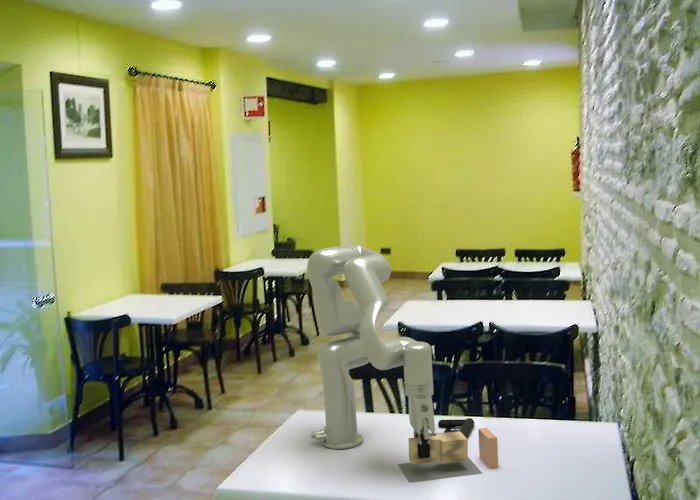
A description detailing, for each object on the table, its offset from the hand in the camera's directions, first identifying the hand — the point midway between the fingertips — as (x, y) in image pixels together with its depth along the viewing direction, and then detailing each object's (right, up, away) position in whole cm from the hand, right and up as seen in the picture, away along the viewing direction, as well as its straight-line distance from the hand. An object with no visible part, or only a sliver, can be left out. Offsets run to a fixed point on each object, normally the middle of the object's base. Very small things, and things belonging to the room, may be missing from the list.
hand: (422, 454), depth 200 cm
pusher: (+5, -1, +1) cm, 5 cm away
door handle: (+10, -2, +28) cm, 30 cm away
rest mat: (+5, -5, +1) cm, 7 cm away
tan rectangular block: (+19, -4, +3) cm, 19 cm away
